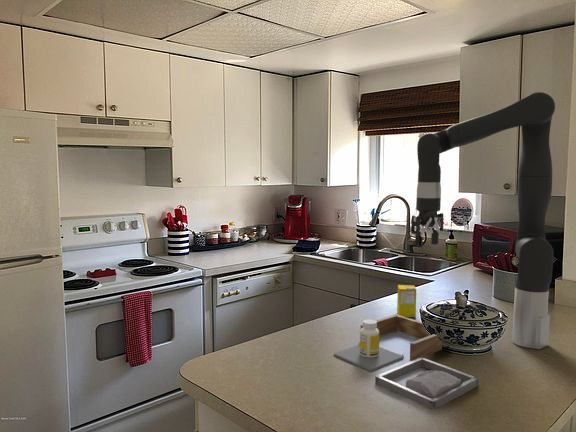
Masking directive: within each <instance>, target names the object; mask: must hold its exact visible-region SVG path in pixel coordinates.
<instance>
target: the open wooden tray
mask: <svg viewBox="0 0 576 432" xmlns="http://www.w3.org/2000/svg"><path fill="white" fill-rule="evenodd" d="M375 321H377V327H376V328H377V329H378V330H379V337H381V336H385V335H388V334H391V333H394V332H396V331H397V332H399V333H402V334H405V335H408V336H411V337H414V338H417V340H415V341H412V342H411V341H410V343H409V361H410V362H411V361H413V360H415V359H418V358H420V357H422V358H425V357H427V356H429V355H432V354H434V353H437V352H439V351H441V350H443V349H442V341H441V340H440V339H439V338H438V337H437V335H435V334H432V335H431V334H429V333H428V332H427V331H426V329H425V328H424V326H423V324H422V321H419V320H416V319H410V318H406V317H403V316H400V315H398V314H397V313H396V314H393V315H390V316H387V317H383V318H380V319H376V320H375ZM362 328H363V324H361V325H360V330H361V329H362ZM360 330H359V331H360Z"/></svg>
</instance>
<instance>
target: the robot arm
mask: <svg viewBox="0 0 576 432" xmlns="http://www.w3.org/2000/svg"><path fill="white" fill-rule="evenodd" d="M555 111H556V103H555V100H554V98H553V97H552V96H551V95H550V94H548V93H545V92H541V91H536V92H532V93H530V94H528V95H526V96H525V97H523V98H522V99H520V100H517V101H516V102H513V103H511V104H510V105H508V106H506V107H503V108H500V109H497V110H495V111H492V112H489V113H486V114H483V115H480V116H477V117H473V118H471V119H467V120H464V121H462V122H459V123H456V124H453V125H451V126H448V128H445V129H442V130H440V131H437V132H434V133H432V132H430V133H429V132H428V133H424V134H423V135H421V136H420V137H419V139H418V141H417V144H416V145H417V147H416V150H417V152H416V153H417V162H418V170H417V171H418V173H417V185H416V204H415V205H416V206H415V207H416V208H415V209H416V211H418V215H414V214H413V215H411V222H410V223H411V225H410V234H411V235H414V236H415V239H414V240H415V243H414V246H415V247H416V248H422V247H424V246H423V243H424V240H423V238H424V236H423V235H424V233H425V231H427V230H428V229H430V230H431V241H430V243H431V245H439V235H440V233H441V232H443V231H444V212H440V211H441V202H442V197H441V196H442V185H441V175H442V174H441V173H442V170H441V165H440V154H442V153H443V154H444V153H445V152H447V151H450V150H452V149H455V148H459V147H463V146H467V145H469V144H472V143H475V142H479V141H481V140H483V139H486V138H488V137H491V136H494V135H495V134H498V133H500V132H503V131H506V130H509V129H513V128H518V127H521V148H520V149H521V150H520V154H519V160H518V168H517V170H518V172H517V204H518V207H517V209H518V226H517V234H516V240H515V246H514V248H515V253H516V257H517V258H518V267H517V268H518V269H517V275H516V278H515V281H514V282H515V284H514V297H513V298H514V299H513V300H514V303H513V318H512V335H511V337H512V338H511V342H512V343H514V344H515V345H517V346H520V347H522V348H527V349H536V350H541V349H544V348H545V347H547V346H549V338H550V323H551V315H550V314H549V313H548V310H549V309H548V308H549V293H550V284H551V283H552V280H553V279H552V278H553V267H554V249H553V246H552V245H551V243H550V242H549V241H548V240H547V239H546V238H547V237H546V215H547V211H548V208H549V205H550V202H551V198H552V191H553V161H552V154H551V148H550V146H551V145H550V134H551V126H552V120H553V119H552V118H553V115H554V114H555Z"/></svg>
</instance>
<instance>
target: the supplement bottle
mask: <svg viewBox="0 0 576 432" xmlns="http://www.w3.org/2000/svg"><path fill="white" fill-rule="evenodd" d="M362 325H363V328H362V329H361V330H359V345H360V354H361V355H362V356H363V357H367V358H374V357H377V356H378V355H379V347H380V336H379V330H378V329H377V328H376V327H377V321H376V320H375V319H370V318H369V319H364V320H362Z"/></svg>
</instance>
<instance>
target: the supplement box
mask: <svg viewBox="0 0 576 432" xmlns="http://www.w3.org/2000/svg"><path fill="white" fill-rule="evenodd" d="M396 301H397V305H396V306H397V307H396V309H397V310H396V311H397V313H396V314H397V315H400V316H403V317H406V318H410V319H413V320H416V318H417V317H416V316H417V288H416V286H415V285H414V284H413V285H412V284H398V285H397V300H396Z"/></svg>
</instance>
